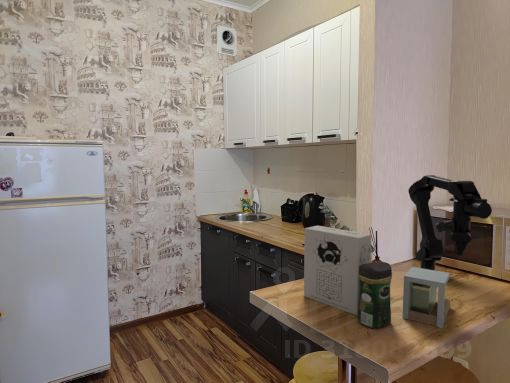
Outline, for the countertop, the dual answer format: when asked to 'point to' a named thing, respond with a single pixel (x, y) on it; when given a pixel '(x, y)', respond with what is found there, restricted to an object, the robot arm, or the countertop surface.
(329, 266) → the cereal box
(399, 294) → the countertop surface
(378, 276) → the coffee jar
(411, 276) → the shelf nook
